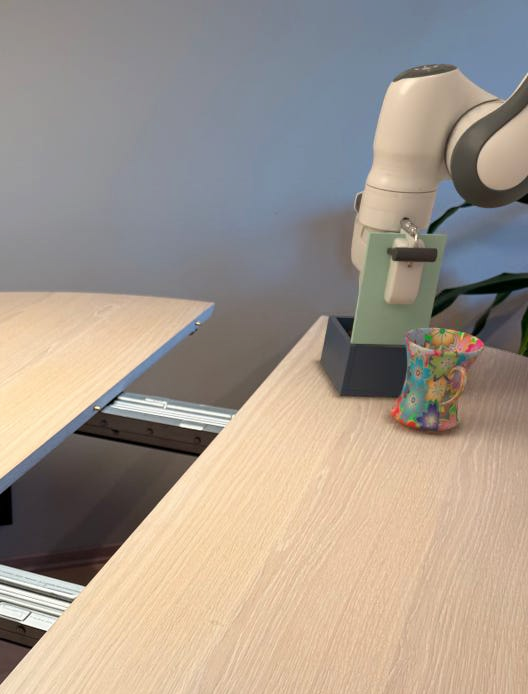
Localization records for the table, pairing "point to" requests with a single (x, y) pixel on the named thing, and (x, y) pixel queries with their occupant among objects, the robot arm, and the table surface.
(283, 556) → the table surface
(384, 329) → the lid
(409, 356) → the mug
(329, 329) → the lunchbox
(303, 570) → the table surface
